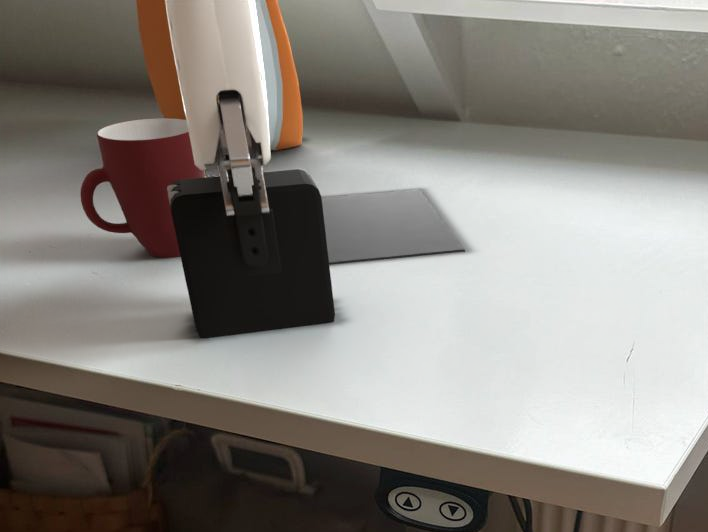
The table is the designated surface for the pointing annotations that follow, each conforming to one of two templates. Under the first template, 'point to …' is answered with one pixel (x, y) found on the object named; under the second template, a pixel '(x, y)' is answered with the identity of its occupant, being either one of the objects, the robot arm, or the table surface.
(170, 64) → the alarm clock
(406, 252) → the desk mat
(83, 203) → the mug
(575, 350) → the table surface
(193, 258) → the electronic device
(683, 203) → the table surface
